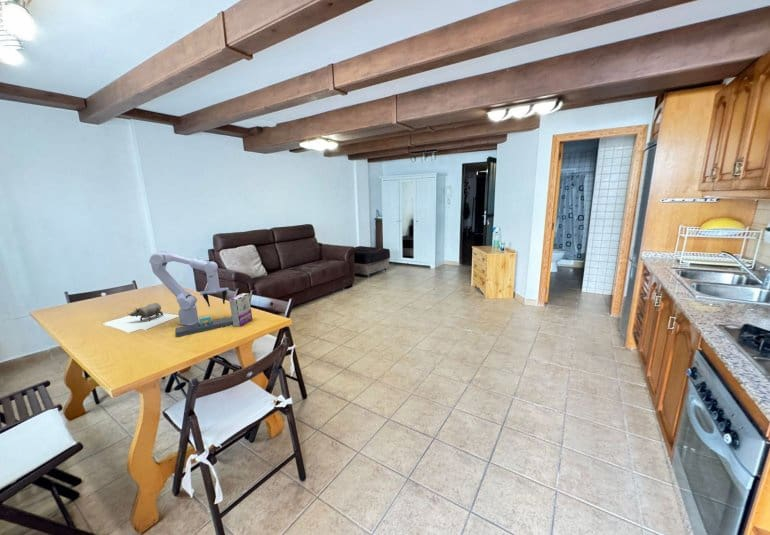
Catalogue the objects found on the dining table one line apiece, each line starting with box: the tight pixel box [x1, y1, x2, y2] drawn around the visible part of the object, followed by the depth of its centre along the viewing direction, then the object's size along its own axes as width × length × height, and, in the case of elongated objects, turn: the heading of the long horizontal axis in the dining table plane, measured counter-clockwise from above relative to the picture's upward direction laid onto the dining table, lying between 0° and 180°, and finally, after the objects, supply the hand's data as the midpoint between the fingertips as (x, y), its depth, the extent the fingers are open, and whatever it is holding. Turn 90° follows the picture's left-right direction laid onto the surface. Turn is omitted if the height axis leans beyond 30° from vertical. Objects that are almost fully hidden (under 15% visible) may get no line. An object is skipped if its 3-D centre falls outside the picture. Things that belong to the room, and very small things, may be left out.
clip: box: [198, 315, 212, 326], centre depth 165 cm, size 5×2×6 cm, turn 124°
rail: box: [174, 316, 233, 338], centre depth 166 cm, size 28×8×2 cm, turn 124°
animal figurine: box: [126, 302, 164, 321], centre depth 181 cm, size 8×14×15 cm
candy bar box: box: [228, 292, 253, 328], centre depth 171 cm, size 11×5×16 cm, turn 168°
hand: (216, 304), depth 176 cm, fingers open, 7 cm apart
